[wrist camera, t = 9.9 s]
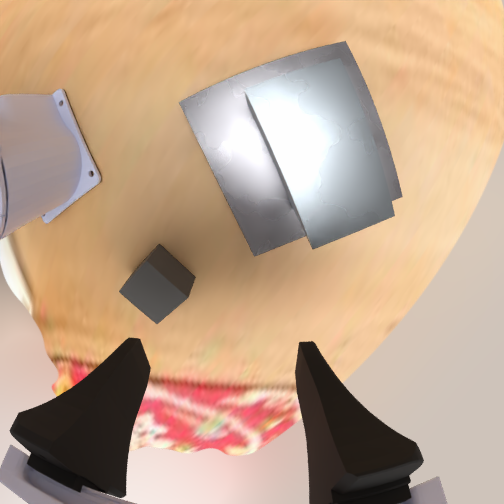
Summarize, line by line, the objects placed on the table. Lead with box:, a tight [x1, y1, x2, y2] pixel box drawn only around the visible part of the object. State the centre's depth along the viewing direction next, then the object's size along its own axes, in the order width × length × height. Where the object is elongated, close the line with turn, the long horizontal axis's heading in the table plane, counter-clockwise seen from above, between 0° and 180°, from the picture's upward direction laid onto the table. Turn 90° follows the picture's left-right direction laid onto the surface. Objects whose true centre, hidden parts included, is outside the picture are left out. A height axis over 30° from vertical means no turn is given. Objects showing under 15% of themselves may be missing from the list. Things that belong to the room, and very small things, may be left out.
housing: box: [244, 58, 395, 249], centre depth 12 cm, size 4×7×6 cm, turn 24°
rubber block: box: [119, 244, 196, 324], centre depth 21 cm, size 4×4×3 cm
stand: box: [179, 41, 402, 257], centre depth 16 cm, size 11×11×2 cm
